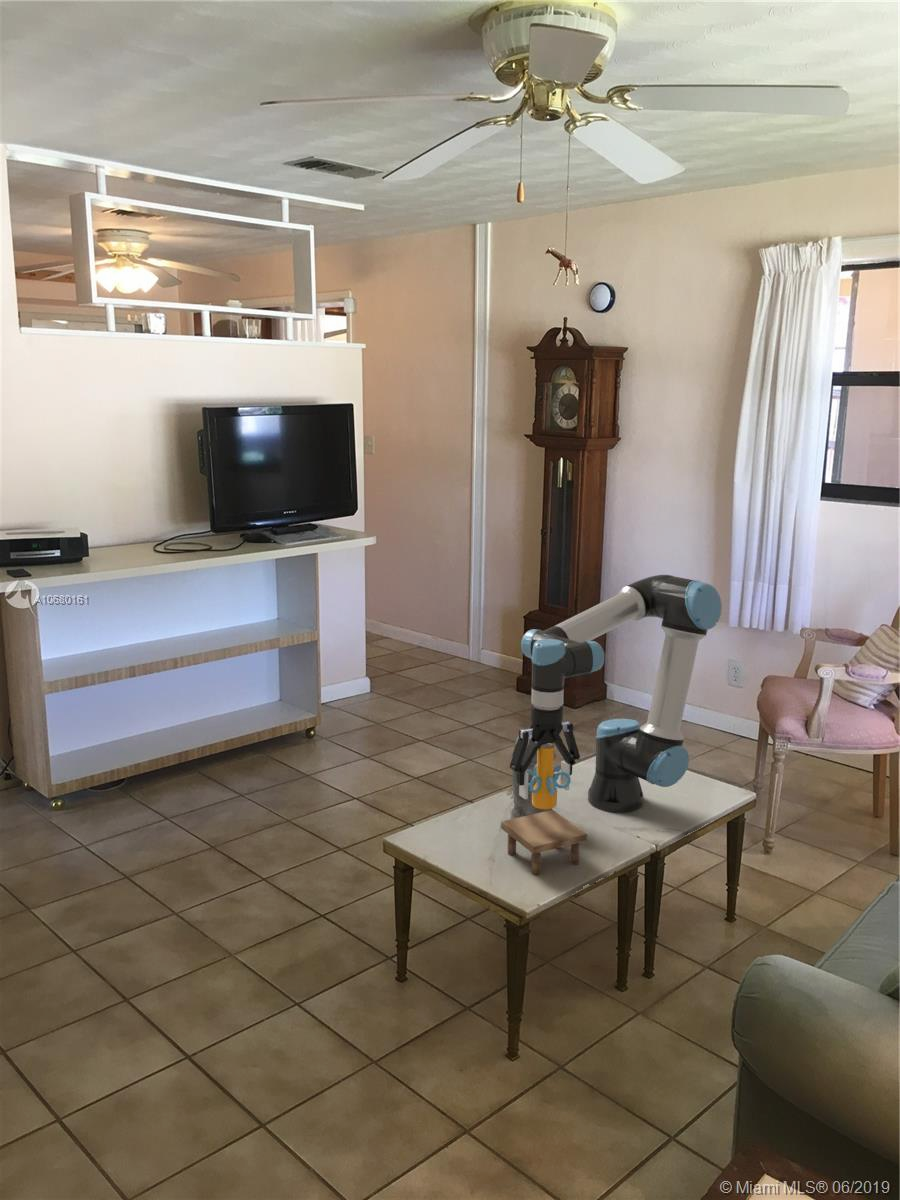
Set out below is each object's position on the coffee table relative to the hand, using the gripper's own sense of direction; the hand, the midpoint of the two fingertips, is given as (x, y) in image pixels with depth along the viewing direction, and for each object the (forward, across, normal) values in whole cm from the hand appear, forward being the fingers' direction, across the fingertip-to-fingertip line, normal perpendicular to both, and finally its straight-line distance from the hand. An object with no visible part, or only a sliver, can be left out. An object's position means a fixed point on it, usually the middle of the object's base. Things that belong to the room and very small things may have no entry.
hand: (544, 792), depth 230 cm
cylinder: (+3, 0, 0) cm, 3 cm away
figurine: (+17, -9, -20) cm, 28 cm away
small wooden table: (+17, 0, 0) cm, 17 cm away
